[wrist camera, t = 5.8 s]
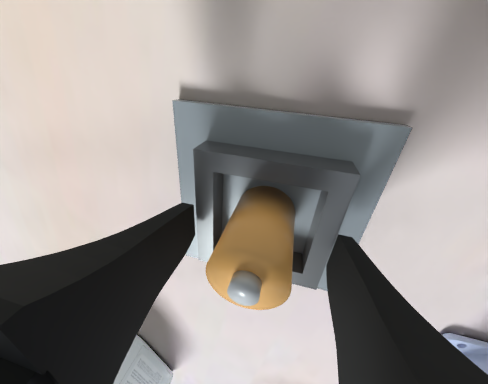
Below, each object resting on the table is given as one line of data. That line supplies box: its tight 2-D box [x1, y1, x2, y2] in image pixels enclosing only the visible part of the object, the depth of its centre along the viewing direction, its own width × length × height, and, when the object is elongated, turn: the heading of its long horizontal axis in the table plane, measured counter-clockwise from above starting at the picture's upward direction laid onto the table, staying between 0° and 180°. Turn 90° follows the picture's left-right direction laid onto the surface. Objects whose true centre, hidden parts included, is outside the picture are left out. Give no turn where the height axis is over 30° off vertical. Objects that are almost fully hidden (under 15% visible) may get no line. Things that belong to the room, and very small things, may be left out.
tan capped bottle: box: [206, 186, 295, 310], centre depth 10 cm, size 3×3×6 cm
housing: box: [173, 99, 412, 291], centre depth 12 cm, size 11×11×2 cm
